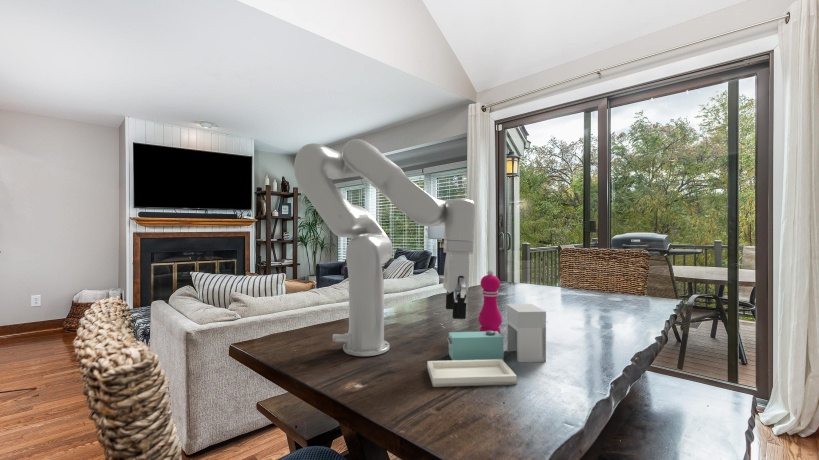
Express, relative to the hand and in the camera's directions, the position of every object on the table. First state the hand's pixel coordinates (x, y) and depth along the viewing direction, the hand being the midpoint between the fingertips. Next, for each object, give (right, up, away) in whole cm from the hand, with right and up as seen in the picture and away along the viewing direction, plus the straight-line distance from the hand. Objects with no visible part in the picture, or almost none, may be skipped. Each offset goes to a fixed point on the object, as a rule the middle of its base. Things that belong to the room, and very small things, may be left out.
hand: (455, 313), depth 96 cm
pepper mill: (+13, -11, +21) cm, 27 cm away
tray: (+2, -11, -12) cm, 17 cm away
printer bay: (+18, -11, +1) cm, 22 cm away
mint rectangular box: (+5, -11, 0) cm, 13 cm away
